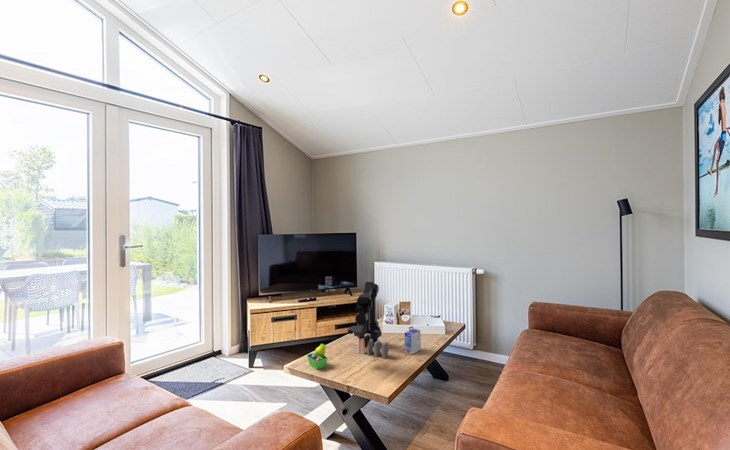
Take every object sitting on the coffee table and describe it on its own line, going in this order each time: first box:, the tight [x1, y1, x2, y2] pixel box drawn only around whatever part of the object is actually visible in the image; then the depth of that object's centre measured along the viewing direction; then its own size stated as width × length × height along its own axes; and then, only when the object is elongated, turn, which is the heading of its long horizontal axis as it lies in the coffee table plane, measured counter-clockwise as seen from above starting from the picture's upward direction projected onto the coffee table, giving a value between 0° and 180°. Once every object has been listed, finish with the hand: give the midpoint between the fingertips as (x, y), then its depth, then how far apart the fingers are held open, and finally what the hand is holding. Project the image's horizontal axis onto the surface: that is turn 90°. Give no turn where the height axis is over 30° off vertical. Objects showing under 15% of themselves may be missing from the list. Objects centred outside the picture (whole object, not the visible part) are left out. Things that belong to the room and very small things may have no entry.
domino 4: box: [381, 341, 389, 360], centre depth 197 cm, size 5×2×8 cm, turn 150°
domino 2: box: [366, 339, 374, 356], centre depth 202 cm, size 5×2×8 cm, turn 150°
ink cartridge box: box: [404, 326, 422, 355], centre depth 205 cm, size 10×6×14 cm, turn 137°
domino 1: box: [359, 337, 368, 355], centre depth 186 cm, size 5×2×8 cm, turn 150°
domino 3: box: [373, 339, 381, 358], centre depth 199 cm, size 5×2×8 cm, turn 150°
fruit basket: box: [306, 343, 328, 371], centre depth 186 cm, size 11×9×11 cm
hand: (364, 347), depth 186 cm, fingers closed on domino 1, 2 cm apart
